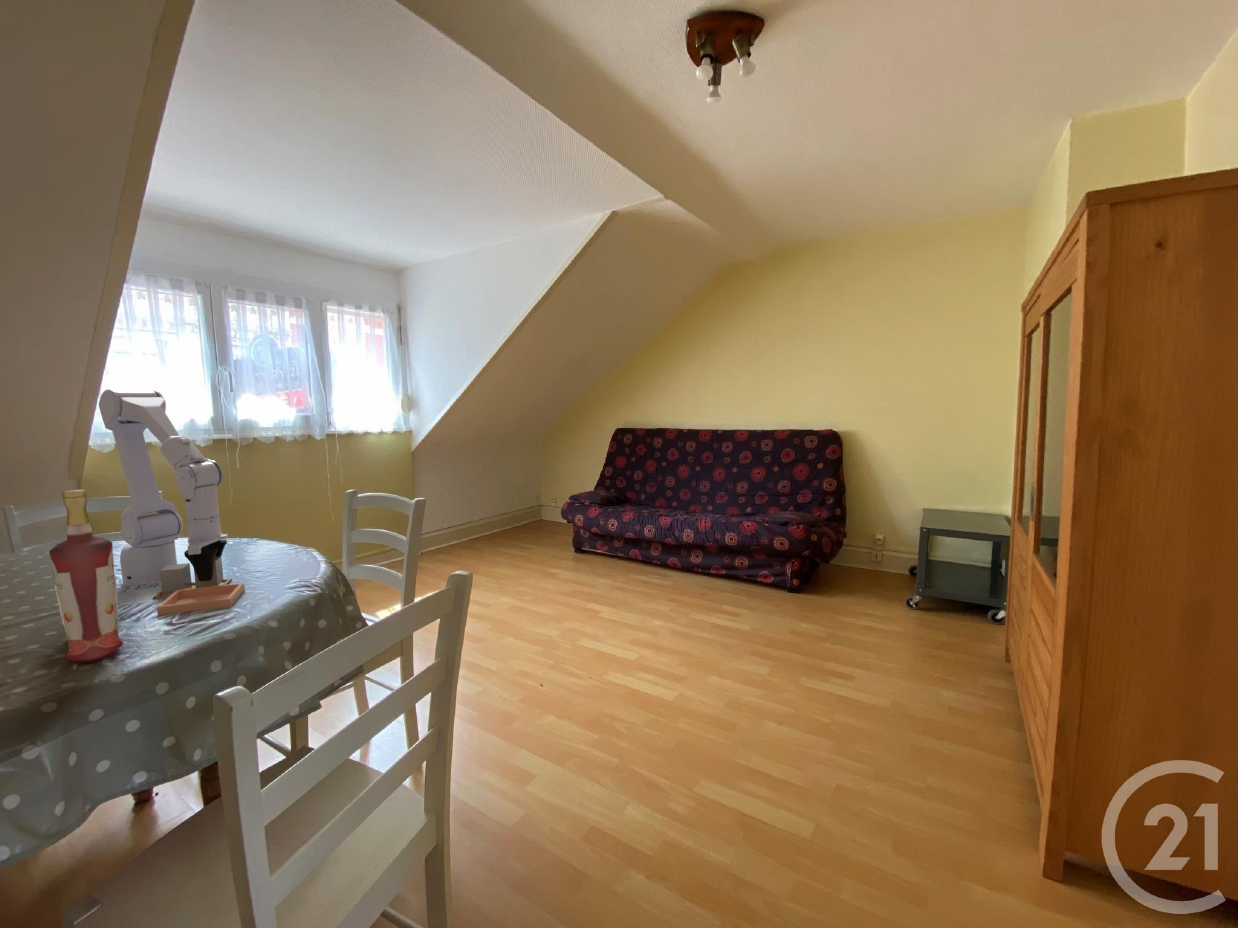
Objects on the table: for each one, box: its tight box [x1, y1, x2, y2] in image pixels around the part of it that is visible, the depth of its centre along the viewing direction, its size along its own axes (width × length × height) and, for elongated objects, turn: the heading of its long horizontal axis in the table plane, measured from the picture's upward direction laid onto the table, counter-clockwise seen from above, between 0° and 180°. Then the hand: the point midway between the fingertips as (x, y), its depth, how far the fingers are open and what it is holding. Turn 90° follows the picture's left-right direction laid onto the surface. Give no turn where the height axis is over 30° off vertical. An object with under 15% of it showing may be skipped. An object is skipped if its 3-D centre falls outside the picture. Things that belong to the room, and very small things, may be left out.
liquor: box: [48, 489, 124, 664], centre depth 89 cm, size 7×7×28 cm
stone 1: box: [160, 562, 193, 595], centre depth 119 cm, size 4×4×6 cm
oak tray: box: [151, 577, 233, 601], centre depth 120 cm, size 12×8×1 cm, turn 111°
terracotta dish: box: [156, 582, 246, 617], centre depth 113 cm, size 12×10×2 cm
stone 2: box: [193, 556, 224, 588], centre depth 121 cm, size 4×4×6 cm
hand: (209, 577), depth 121 cm, fingers closed on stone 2, 4 cm apart
